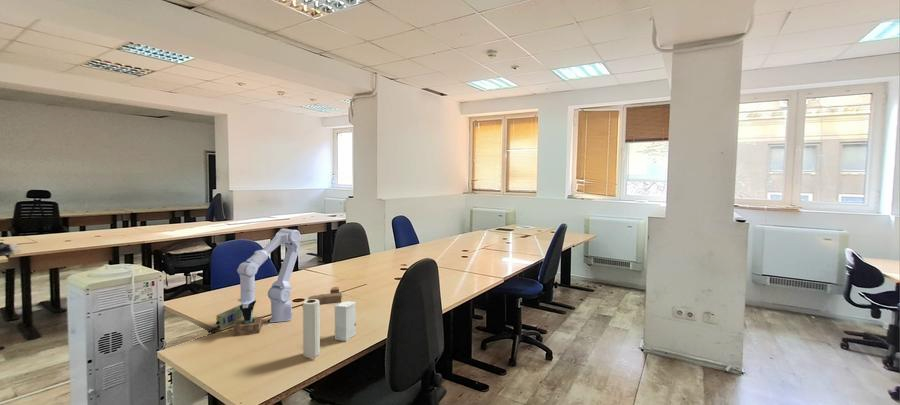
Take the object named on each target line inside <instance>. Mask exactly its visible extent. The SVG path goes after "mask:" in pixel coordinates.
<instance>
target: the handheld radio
mask: <svg viewBox="0 0 900 405" xmlns="http://www.w3.org/2000/svg"><path fill="white" fill-rule="evenodd" d="M240 305H242V303H240V304H239V305H237V306H234V307H233V308H230V309H228V310H225V311H223V312H221V313H218V314H217V315H215V317H216V318H215V320H216V322H215V324H216V326H214V327H213V328H211V329H209V330H208V331H207V332H208V334H211V333H213V332H214V331H215V332H216V331H217V330H223V329H225V328H226V327H229V326H231V325H234V324H235V323H236V322H237V320H238V319H242V318H244V316H243V313H242V311H241V309H240Z"/></svg>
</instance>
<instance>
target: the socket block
mask: <svg viewBox="0 0 900 405" xmlns="http://www.w3.org/2000/svg"><path fill="white" fill-rule="evenodd" d="M262 326H263V316H255V317H253V316H252V323H247V324H244V318H242V319H238V320H237V322H235V323H234V324H233V336H234V337H235V336H244V335H254V334H260V332H261V330H262Z"/></svg>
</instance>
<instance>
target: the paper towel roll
mask: <svg viewBox="0 0 900 405" xmlns="http://www.w3.org/2000/svg"><path fill="white" fill-rule="evenodd" d="M320 305H321V304H319V300H317V299H309V300H308V299H306V300H303V302H302V335H303V336H302V342H303V343H302V345H303V346H302V348H303V351H302V352H303V356H304V358H308V359H314V360H316V357H317V356H319V355H320V353H321V351H320V348H321V346H320V345H321V343H320V338H321V336H320V335H321V332H320V328H321V327H320V325H321V324H320V321H321V320H320V318H321V315H320V313H321V312H320V309H321V308H320Z"/></svg>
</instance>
